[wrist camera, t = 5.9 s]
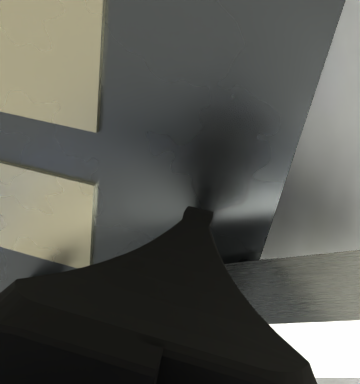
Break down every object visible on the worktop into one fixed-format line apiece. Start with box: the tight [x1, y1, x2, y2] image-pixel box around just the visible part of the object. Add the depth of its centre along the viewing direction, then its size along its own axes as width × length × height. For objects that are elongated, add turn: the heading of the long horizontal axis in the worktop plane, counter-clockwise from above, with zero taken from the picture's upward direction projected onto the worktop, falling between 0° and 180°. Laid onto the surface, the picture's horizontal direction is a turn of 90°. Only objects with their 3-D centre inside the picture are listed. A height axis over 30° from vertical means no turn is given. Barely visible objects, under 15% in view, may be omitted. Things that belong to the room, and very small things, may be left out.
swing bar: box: [224, 250, 360, 377], centre depth 11 cm, size 2×16×3 cm, turn 106°
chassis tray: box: [0, 0, 345, 293], centre depth 11 cm, size 18×19×5 cm
